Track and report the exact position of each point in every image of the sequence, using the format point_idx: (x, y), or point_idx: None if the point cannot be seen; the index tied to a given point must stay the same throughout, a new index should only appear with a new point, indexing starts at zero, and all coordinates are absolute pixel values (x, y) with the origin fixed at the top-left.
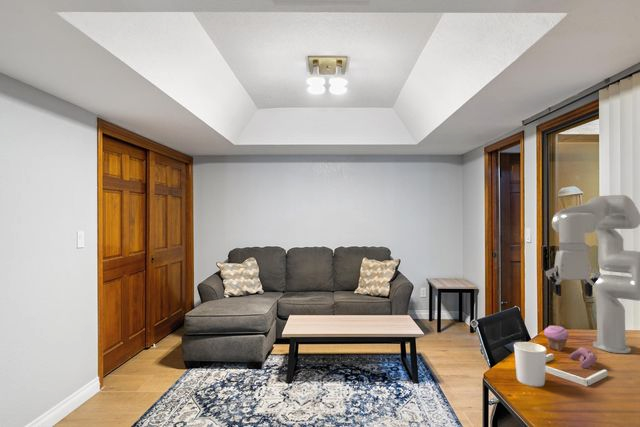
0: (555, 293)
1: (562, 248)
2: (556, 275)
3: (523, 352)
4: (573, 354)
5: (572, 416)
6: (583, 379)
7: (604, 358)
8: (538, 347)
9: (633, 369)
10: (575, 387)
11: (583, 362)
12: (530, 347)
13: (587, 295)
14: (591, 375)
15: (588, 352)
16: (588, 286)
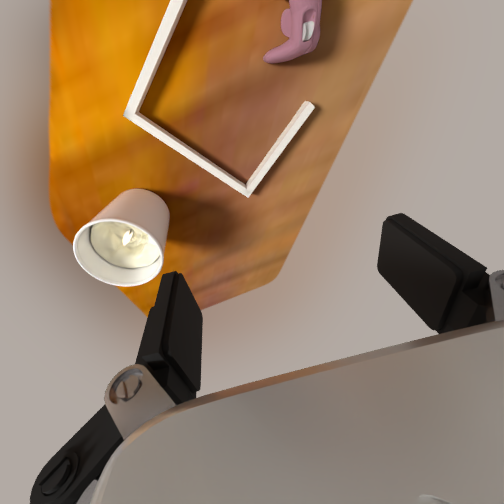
0: (165, 279)
1: None
2: (133, 450)
3: (112, 279)
4: None
5: (205, 299)
6: (243, 193)
7: None
8: (141, 225)
9: (408, 5)
10: (224, 206)
11: (273, 59)
12: (119, 215)
13: (381, 250)
14: (265, 164)
15: (305, 15)
16: (430, 321)
